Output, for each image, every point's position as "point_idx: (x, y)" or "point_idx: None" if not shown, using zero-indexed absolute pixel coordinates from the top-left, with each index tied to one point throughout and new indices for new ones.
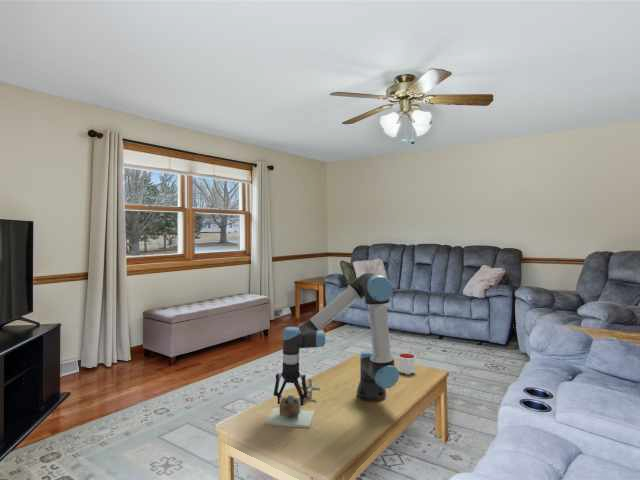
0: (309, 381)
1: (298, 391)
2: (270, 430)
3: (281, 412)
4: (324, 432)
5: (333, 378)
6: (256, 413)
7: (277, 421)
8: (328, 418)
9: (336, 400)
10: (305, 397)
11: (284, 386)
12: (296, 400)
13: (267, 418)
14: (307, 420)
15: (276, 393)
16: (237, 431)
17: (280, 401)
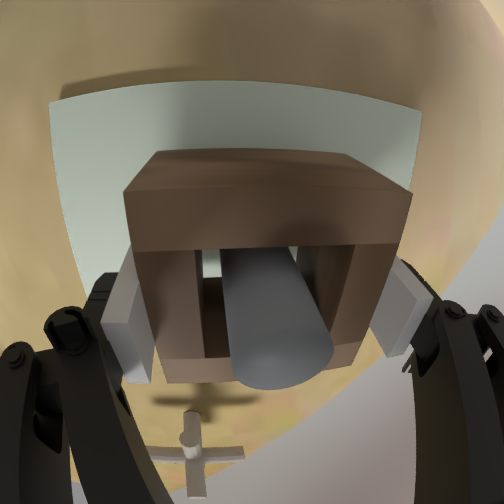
0: (198, 485)
1: (113, 464)
2: (364, 23)
3: (343, 160)
4: None
5: (165, 471)
6: (447, 242)
7: (342, 119)
8: (8, 262)
9: None
10: (18, 349)
11: (470, 476)
12: (197, 339)
13: (412, 165)
14: (85, 179)
15: (485, 334)
16: (499, 58)
17: (401, 270)
